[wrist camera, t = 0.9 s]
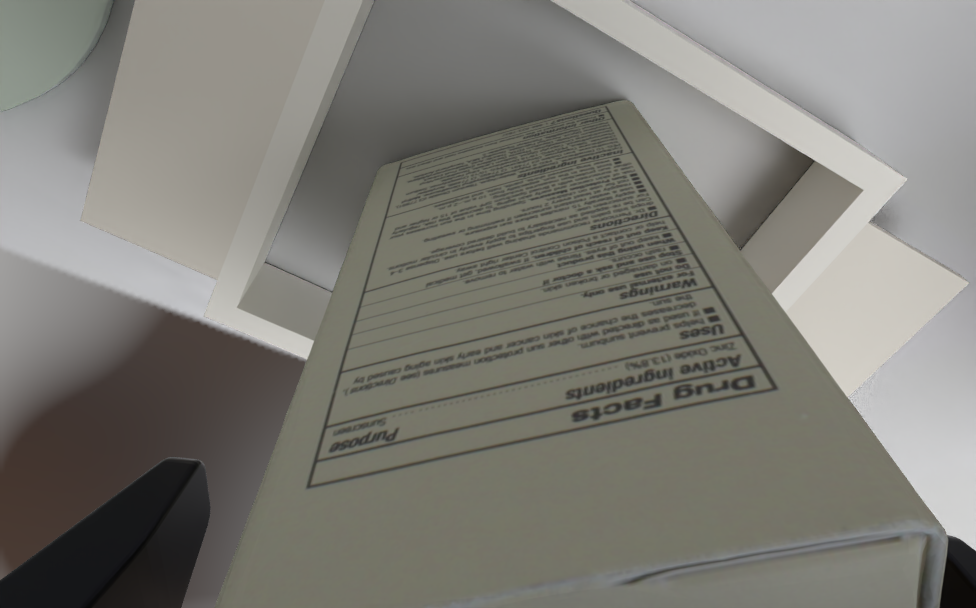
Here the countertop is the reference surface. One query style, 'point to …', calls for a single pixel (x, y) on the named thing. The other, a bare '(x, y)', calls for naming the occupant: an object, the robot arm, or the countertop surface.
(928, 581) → the skincare box
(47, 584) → the robot arm
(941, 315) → the countertop surface
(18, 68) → the coaster
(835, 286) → the white rectangular tray
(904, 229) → the countertop surface
